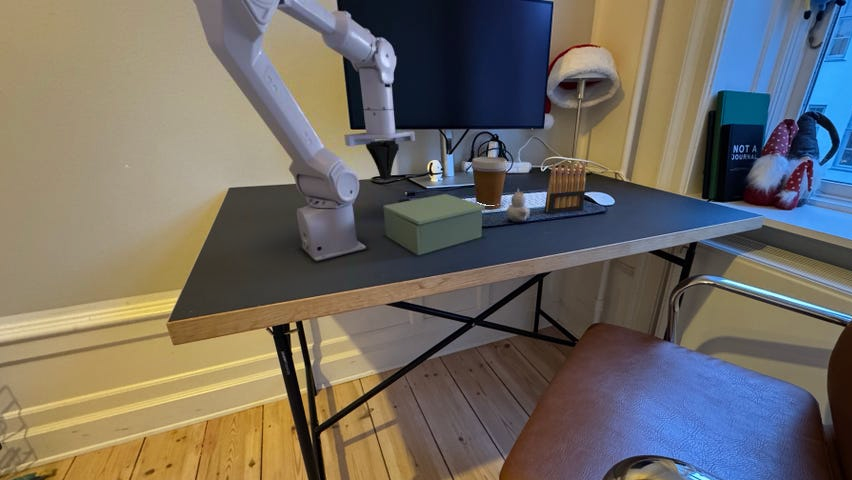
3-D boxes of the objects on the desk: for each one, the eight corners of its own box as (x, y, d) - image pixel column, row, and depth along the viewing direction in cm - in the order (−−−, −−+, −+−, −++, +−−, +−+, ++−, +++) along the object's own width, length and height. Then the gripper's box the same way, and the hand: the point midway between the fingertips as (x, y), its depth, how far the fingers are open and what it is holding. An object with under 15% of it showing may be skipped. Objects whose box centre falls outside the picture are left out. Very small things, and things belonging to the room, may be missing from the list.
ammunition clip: (547, 213, 93) (552, 165, 87) (544, 211, 94) (548, 163, 89) (583, 209, 96) (590, 163, 91) (578, 207, 98) (585, 161, 92)
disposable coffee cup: (506, 211, 93) (509, 163, 88) (469, 210, 94) (469, 162, 88) (505, 201, 102) (507, 157, 97) (471, 200, 102) (471, 156, 97)
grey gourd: (521, 216, 90) (524, 184, 87) (534, 225, 85) (537, 190, 81) (501, 218, 88) (503, 185, 85) (513, 227, 83) (515, 192, 79)
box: (481, 237, 77) (482, 210, 75) (418, 255, 68) (416, 226, 66) (446, 221, 86) (446, 197, 83) (386, 236, 77) (383, 209, 74)
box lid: (484, 209, 74) (485, 206, 74) (418, 225, 65) (418, 221, 64) (446, 196, 83) (446, 193, 83) (383, 209, 74) (382, 205, 74)
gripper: (401, 107, 79) (405, 171, 85) (334, 109, 71) (344, 179, 77) (418, 109, 74) (422, 176, 80) (349, 111, 66) (359, 186, 72)
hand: (385, 178), depth 78 cm, fingers closed
